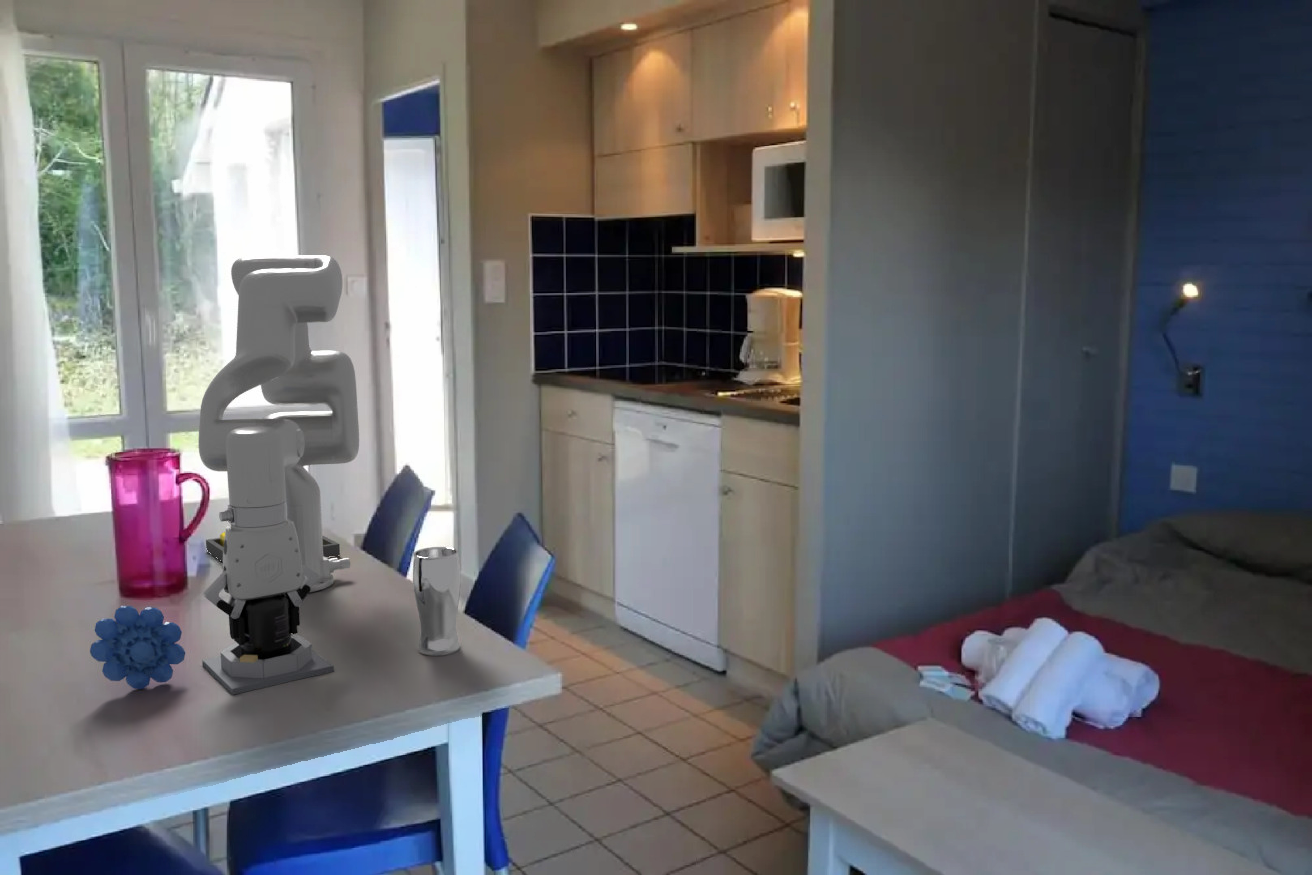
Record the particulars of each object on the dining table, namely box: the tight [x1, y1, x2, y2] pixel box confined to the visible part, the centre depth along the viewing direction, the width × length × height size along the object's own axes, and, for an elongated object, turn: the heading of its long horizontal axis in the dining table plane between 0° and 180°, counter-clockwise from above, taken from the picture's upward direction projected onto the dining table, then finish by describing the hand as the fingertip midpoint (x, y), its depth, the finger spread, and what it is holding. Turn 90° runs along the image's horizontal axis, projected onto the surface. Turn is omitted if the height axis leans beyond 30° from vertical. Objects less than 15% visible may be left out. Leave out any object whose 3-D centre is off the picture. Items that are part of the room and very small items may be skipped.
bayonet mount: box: [201, 634, 335, 696], centre depth 154 cm, size 14×14×4 cm
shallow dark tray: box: [205, 534, 341, 563], centre depth 216 cm, size 20×20×2 cm
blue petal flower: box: [89, 605, 186, 690], centre depth 145 cm, size 12×7×12 cm, turn 125°
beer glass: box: [412, 546, 462, 657], centre depth 161 cm, size 7×7×15 cm
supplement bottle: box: [241, 593, 292, 660], centre depth 153 cm, size 7×7×12 cm
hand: (265, 636), depth 154 cm, fingers closed on supplement bottle, 6 cm apart
